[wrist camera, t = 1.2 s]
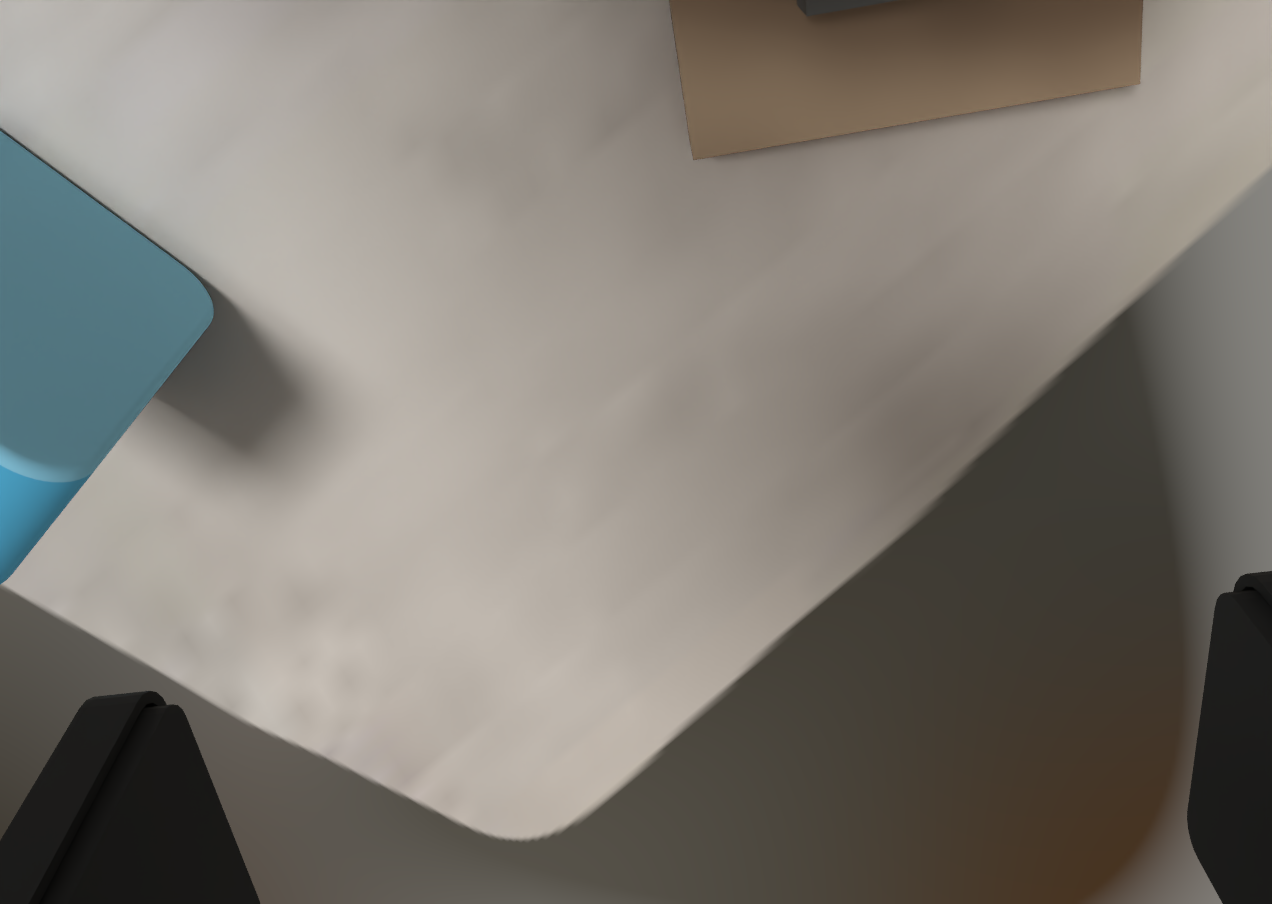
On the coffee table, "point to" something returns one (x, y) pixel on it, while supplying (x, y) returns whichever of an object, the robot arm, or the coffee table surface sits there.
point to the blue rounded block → (75, 340)
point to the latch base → (886, 62)
